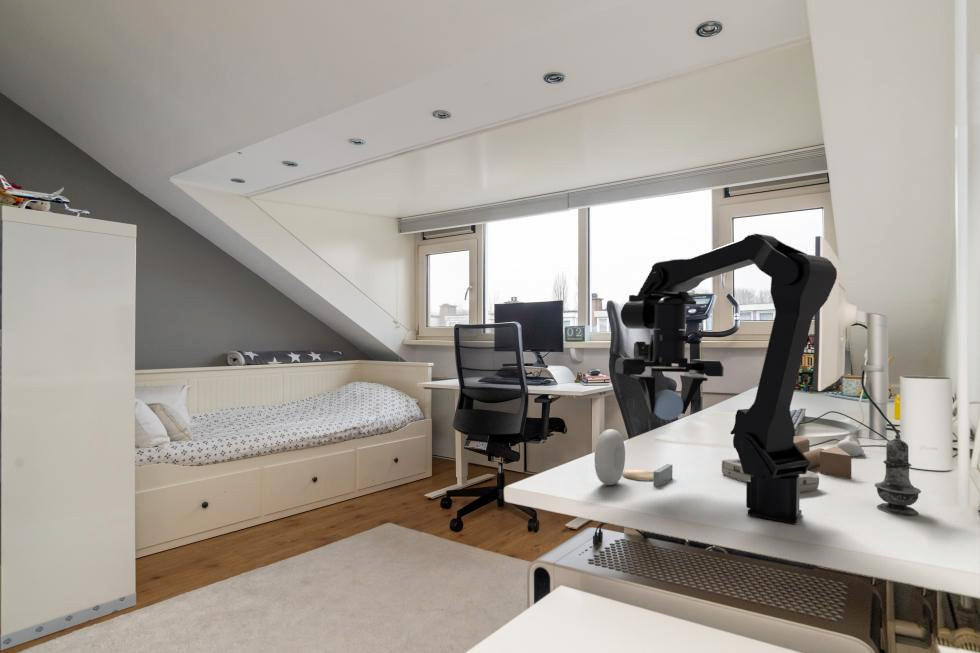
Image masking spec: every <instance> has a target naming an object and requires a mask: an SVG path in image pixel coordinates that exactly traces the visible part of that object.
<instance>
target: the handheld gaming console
mask: <svg viewBox="0 0 980 653" xmlns="http://www.w3.org/2000/svg"><path fill="white" fill-rule="evenodd" d="M721 474H723V476H726V477H729V478H732V479H733V480H734V479H735V480H737V481H740V482H744V483H746V482H747V481H748V480H749V479H750V475H748V474H745V473H744V472H743V469H742V466H741V462H740V459H739V458H728V459H722V460H721ZM799 475H800V486H799V494H800V493H807V492H814V491H817V490H818V489H819V484H820V476H819V475H818V474H817V473H815V472H813V471H810V470H807V473H806V474H799Z"/></svg>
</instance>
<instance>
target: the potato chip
mask: <svg viewBox="0 0 980 653" xmlns="http://www.w3.org/2000/svg"><path fill="white" fill-rule="evenodd" d="M653 475H654V471H649V470H640V469H629V470H625V471H624V470H623V473H622V476H623V477H624V478H625V479H629V480H634V481H641V482H651V481H652V482H653Z"/></svg>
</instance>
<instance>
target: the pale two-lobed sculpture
mask: <svg viewBox="0 0 980 653" xmlns="http://www.w3.org/2000/svg"><path fill="white" fill-rule="evenodd" d="M836 446H837V447H838V448H840V449H841V450H843V451H845V452H846V453H848V454H849V455H851V457H858V456H860V455H862V454H864V453H865V451H864V449H863V447H862V445H861V443H860V440H859V439H858V437H857V436H855V435H854V434H849V435H847V436H845V437H844V438H843V439H842V440H840V441H838V442H837V445H836Z"/></svg>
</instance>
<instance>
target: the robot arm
mask: <svg viewBox="0 0 980 653" xmlns="http://www.w3.org/2000/svg"><path fill="white" fill-rule="evenodd" d="M752 265H755V266H756V267H757V268H758V270H759V271H760V272H762V273H764V274H765V275H767V276H768V277H770V278H771V279H770V280H771V281H770V295H771V296H770V297H771V299H772V303H773V307H774V310H775V312H774V319H773V323H772V326H771V331H770V335H769V340H768V343H767V344H768V345H767V347H766V353H765V357H764V361H763V365H762V368H761V369H762V370H761V374H760V378H759V383H758V386H757V391H756V394H755V399H754V401H753V403H752V404H751V406H750V407H749V408H743V409H737V410H736V413H735V419H734V425H733V429H731V431H730V435H733V438H732V444H733V448H734V449H735V451H736V453H737V455H738V459H740V462H741V466H742V469H743V472H744V473H745V474H748V475H750V479H749V480H748V481H747V482H745V484H746V485H745V486H746V489H745V490H746V491H745V492H746V498H745V499H746V502H745V504H746V505H745V506H746V508H747V509H748V510H747V515H748V516H751V517H757V518H762V519H768V520H773V521H778V522H783V523H790V524H797V523H798V521H799V519H800V518H801V515H802V514H803V513H802V512H803V511H802V509H800V493H799V486H800V475H799V474H806V473H807V471H809V469H808V467H809V465H810V461H809V460H808V459H807V458H806V456H805V455H804V454H803V453H802V452H801V451H800V449H799V448H798V447H797V446H796V445H795V443H794V436H795V424H794V421H793V417H792V414H791V405H792V401H793V398H794V397H793V396H794V394H795V393H794V392H795V388H796V384H797V380H798V378H799V377H798V376H799V373H800V369H801V365H802V360H803V356H804V352H805V348H806V346H807V345H806V344H807V341H808V337H809V333H810V328H811V325H812V321H813V319H814V318H815V316H816V314H817V313H818V312H819V311H820V309H822V307H823V306H824V305H825V304H826V302H827V301H828V299H829V297H830V294H831V293H832V290H833V288H834V286H835V284H836V280H837V279H838V278H837V275H838V273H837V272H838V271H837V268H836V267H835V265H833V262H832V261H830V260H829V259H828V258H826V257H824V256H821V255H820V256H819V255H812V254H808V253H805V252H804V251H801V250H800V249H797V248H794V247H792V246H791V245H787V244H785V242H782V241H780V240H779V239H777V238H776V237H774V236H772V235H766V234H761V233H760V234H759V233H751V234H749V235H746V236H745V237H744V238H741V239H739V240H736V241H734V242H731V243H728V244H726V245H723V246H720V247H717V248H715V249H712V250H709V251H706V252H703V253H701V254H698V255H695V256H693V257H689V258H679V259H677V258H675V259H668V260H661V261H657V262H655V263H654V264H652V266H651V270H650V271H649V274H648V275H647V277H646V279H645V281H644V283H643V284H642V286H641V287H640V289H639V291H638V293H637V294H629V296H628V301H626V302H625V303H624V305H623V306H622V309H621V310H620V320H621V323H622V325H624V327H626V329H635V330H637V329H638V330H653V332H652V334H651V335H650V341H649V343H646V341H635V342H634V343H633V357H618V358H617V359H616V360H615V363H614V372H615V373H618V374H621V375H627V376H629V375H630V377H631V378H634V379H636V380H637V382H638V384H639V386H640V388H641V390H642V393H643V396H644V399H645V402H646V405H647V408H648V412H649V413H650V414H655V413H654V407H655V395H656V377H655V376H652V372H656V373H657V372H662V373H665V372H666V373H683V374H680V375H679V377H680V381H681V390H680V397H681V398H682V401H683V410H682V413H681V415H683V414H686V412H687V409H688V408H689V406H690V404H691V402H692V400H693V398H694V396H695V394H696V392H697V391H698V389H699V388H700V387H701V385H702V383H703V382H707V381H708V379H709V378H708V377H724V368H725V367H724V364H723V363H722V362H721V361H720V360H715V359H702V358H701V359H699V358H697V359H695V358H693V359H691V361H690V362H688V358H687V357H686V342H688V341H689V336H688V335H686V332H687V331H686V327H687V326H686V325H687V323H686V322H687V306H695V305H697V301H696V300H695V299H694V298H693V297H691V296H690V294H689V292H690V291H691V290H693V289H694V290H695V289H696V288H697V287H698V286H699V285H700V284H701V283H702V282H704V281H705V280H707V279H710V278H713V277H717V276H720V275H722V274H726V273H729V272H733V271H735V270H739V269H742V268H746V267H748V266H752ZM672 364H675V365H672ZM705 375H706V377H705ZM773 461H774V462H773Z"/></svg>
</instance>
